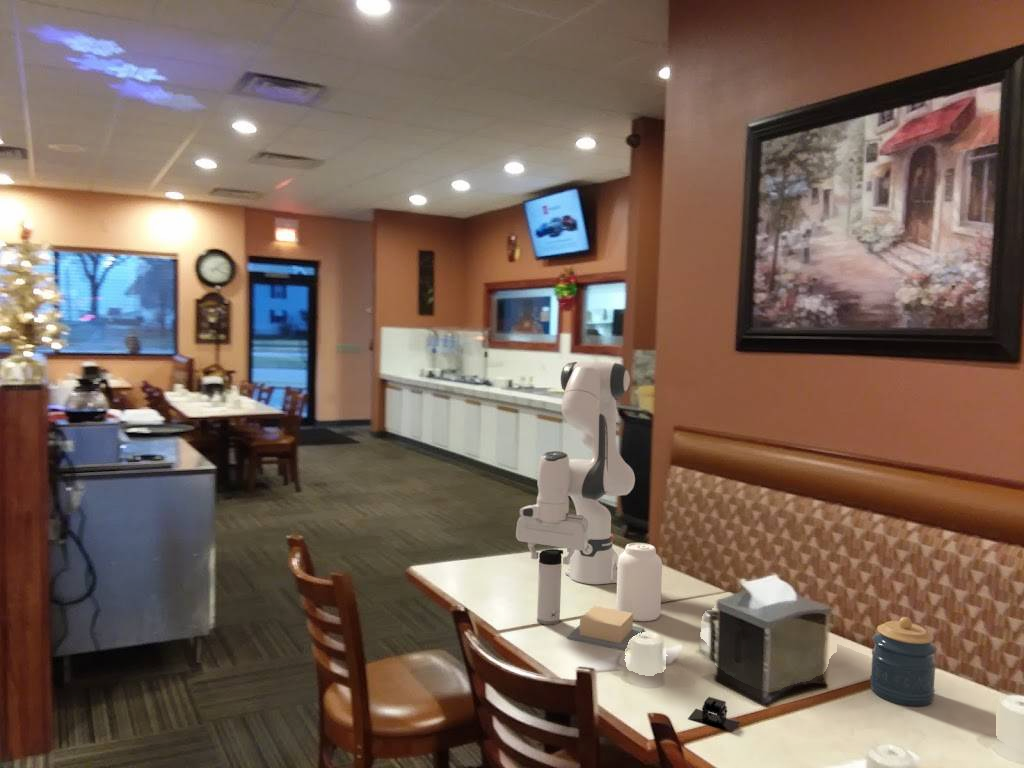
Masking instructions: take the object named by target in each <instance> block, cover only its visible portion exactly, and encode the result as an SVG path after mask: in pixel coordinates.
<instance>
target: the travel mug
mask: <svg viewBox="0 0 1024 768" xmlns="http://www.w3.org/2000/svg"><path fill="white" fill-rule="evenodd" d="M563 554H564V549H558V548H557V549H556V548H555V549H554V548H551V549H544V550H542V551H540V552H539V555H538V556H539V557H538V581H537V582H538V585H537V609H536V610H537V611H536V613H537V615H536V621H537V623H539V624H541V625H544V626H553V625H554V626H555V625H558V624H559V623H560V620H561V619H560V618H561V616H560V615H561V589H562V568H563V567H562V565H563V557H562V555H563Z"/></svg>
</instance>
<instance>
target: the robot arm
mask: <svg viewBox="0 0 1024 768" xmlns="http://www.w3.org/2000/svg"><path fill="white" fill-rule="evenodd" d="M630 379H631V378H630V373H629V370H628V368H627V366H626V365H624V364H622V363H617V362H615V363H611V362H603V361H587V362H586V361H585V362H584V361H583V362H581V361H580V362H577V361H573V362H568V363H567V364H565V365H564V366H563V367H562V369H561V373H560V386H561V389H562V390H563V391H564V393H563V395H562V401H561V408H560V409H561V413H562V416H563V419H564V420H565V422H566V423H568V424H569V425H570V426H571V427H573V428H574V429H576V430H578V431H581V434H580V435H581V436H580V437H581V438H580V439H581V441H582V443H583V444H584V445H585V446H586V447H587V448H589V449H590V450H592V452H591V453H592V455H591V456H592V457H591V459H588V458H585V459H584V458H571V459H569V458H570V457H569V455H568V454H567V453H565V452H563V451H557V450H555V451H548V452H544V453H543V454H542V455H541V456H540V460H539V463H538V464H539V465H538V471H537V482H536V483H537V490H538V494H537V497H536V503H533V504H529V505H526V506H523V507H521V508H520V509H519V518H518V519H517V522H516V529H515V537H516V539H517V541H519V542H522V543H523V542H524V543H527V547H528V549H529V551H530V553H531V555H530V556H531V557H530V559H532V560H539V554H540V552H539V551H537V550H536V549H535V546H536V545H537V544H538V545H543V546H548V547H556V548H561V549H566V553H567V555H566V556H564V557H562V565H568V567H569V569H566V570H565V571H564V574H565V575H566V576H568V577H570V578H571V580H573V581H575V582H577V583H581V584H586V585H605V584H606V585H607V584H617V571H618V559H619V554H618V552H616V551H615V549H614V548H613V540H614V537H615V535H614V534H613V533H611V532H612V529H611V528H612V515H611V512H610V511H609V508H607V507H606V506H605V505H603V504H602V503H600V502H599V501H598V500H599V499H601V498H602V497H604V496H608V497H611V496H612V497H621V496H627V495H628V494H630V493H631V491H633V489H634V487H635V482H636V477H635V473H634V470H633V468H632V467H631V466H630V465H629V464H628V463H626V462H625V460H624V458H623V457H622V455H621V454H620V452H619V450H618V449H619V448H618V446H617V433H616V432H617V428H616V427H617V401H618V400H619V398H621V397H623V396H624V395H625V394H626V393H627V391H628V388H629V387H630V383H631V380H630ZM569 497H570V498H571V500H572V502H573V505H574V508H575V512H576V514H573V513H570V512H569V511H570V510H569V509H570V499H569Z"/></svg>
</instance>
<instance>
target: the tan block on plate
mask: <svg viewBox="0 0 1024 768" xmlns="http://www.w3.org/2000/svg"><path fill="white" fill-rule="evenodd" d="M633 624H634V620H633V613H630V612H624V611H619V610H616V609H615V608H614V609H613V608H608V607H602V606H598V605H597V606H596V605H594V606H592V608H590V609H589V610H588V611H587V612H586V613H584V614H583V615H582V616H581V617H580V618H579V625H578V626H577V627H575V629H573V630H572V631H571V632H570V633H569V634H568V635H567V637H566V639H569V640H573V641H577V642H583V643H587V644H592V645H596V646H602V647H606V648H611V649H616V650H620V651H625V649H626V648H627V645H628V642H629V640H630V639H631V638H632V637H633V636H635V635H637V634H638V633H640V632H642V633H643V632H644V631H645V628H644V627H641V626H636V625H633Z"/></svg>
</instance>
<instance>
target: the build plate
mask: <svg viewBox="0 0 1024 768" xmlns="http://www.w3.org/2000/svg"><path fill="white" fill-rule="evenodd" d="M726 704H727V702H726V701H725V700H721V699H717V698H715V697H711V696H708V697H707V698H706V700H704V702H703V705H702V707H701V709H699V708H695V709H694V710H693V711H692V713H691V714H690V715H689V717H687V720H689V721H692V722H695V723H699V724H703V725H706V726H708V727H712V728H716V729H719V730H721V731H726V732H728V733H733V732H734V731H735V730H736V729H737V728H738V726H739V725H740V724H741V721H740V720H735V719H732V718H729V717H727V713H728V706H727V705H726Z"/></svg>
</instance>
